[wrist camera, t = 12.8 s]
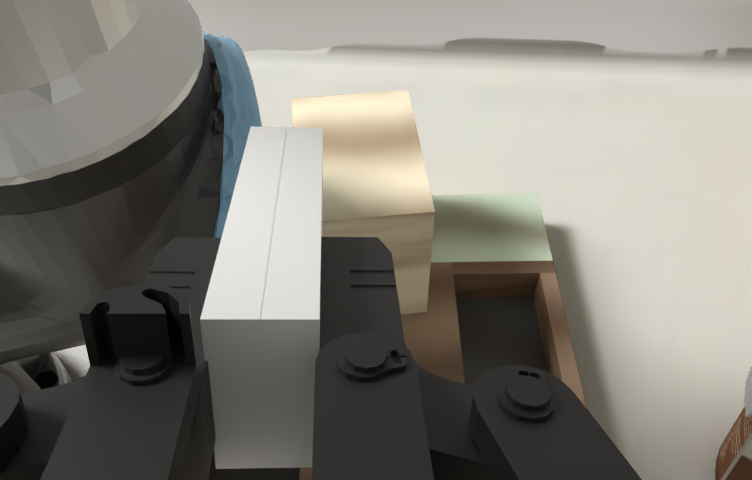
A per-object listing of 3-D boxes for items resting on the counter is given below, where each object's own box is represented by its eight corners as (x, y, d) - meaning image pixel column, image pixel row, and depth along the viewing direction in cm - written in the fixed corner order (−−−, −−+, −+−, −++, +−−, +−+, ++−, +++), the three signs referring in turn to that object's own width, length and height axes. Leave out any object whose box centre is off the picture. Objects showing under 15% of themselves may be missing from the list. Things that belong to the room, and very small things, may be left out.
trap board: (647, 774, 30) (669, 770, 27) (139, 782, 30) (118, 778, 27) (530, 222, 50) (537, 193, 48) (230, 226, 50) (223, 198, 48)
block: (426, 311, 42) (434, 211, 35) (311, 322, 41) (296, 223, 34) (404, 194, 48) (408, 89, 41) (304, 202, 48) (291, 98, 41)
